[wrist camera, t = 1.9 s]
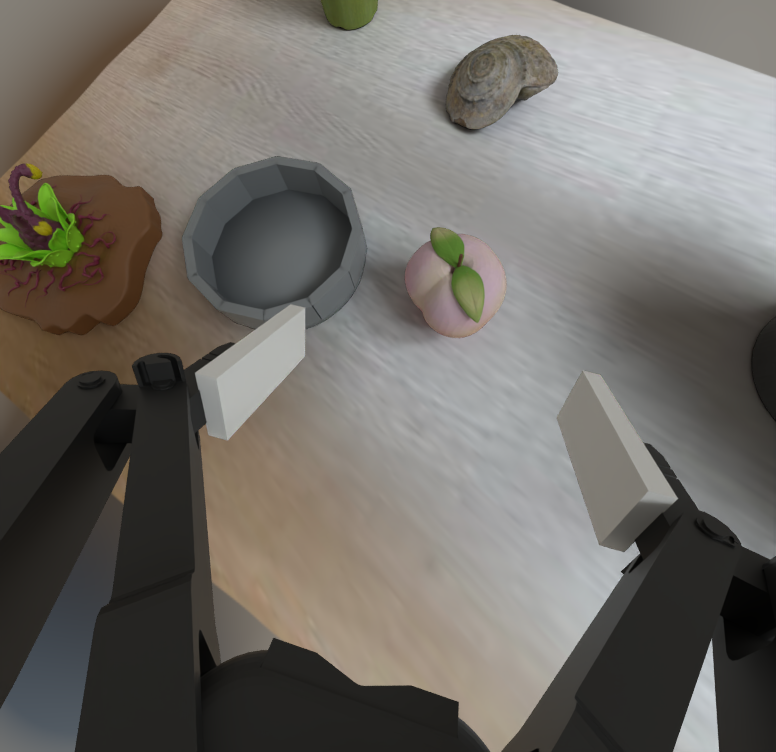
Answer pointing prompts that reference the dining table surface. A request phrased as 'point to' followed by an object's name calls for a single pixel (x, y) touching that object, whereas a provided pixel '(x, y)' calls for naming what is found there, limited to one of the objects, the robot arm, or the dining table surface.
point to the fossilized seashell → (498, 79)
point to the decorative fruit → (455, 282)
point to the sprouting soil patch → (75, 250)
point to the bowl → (276, 242)
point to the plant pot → (349, 12)
